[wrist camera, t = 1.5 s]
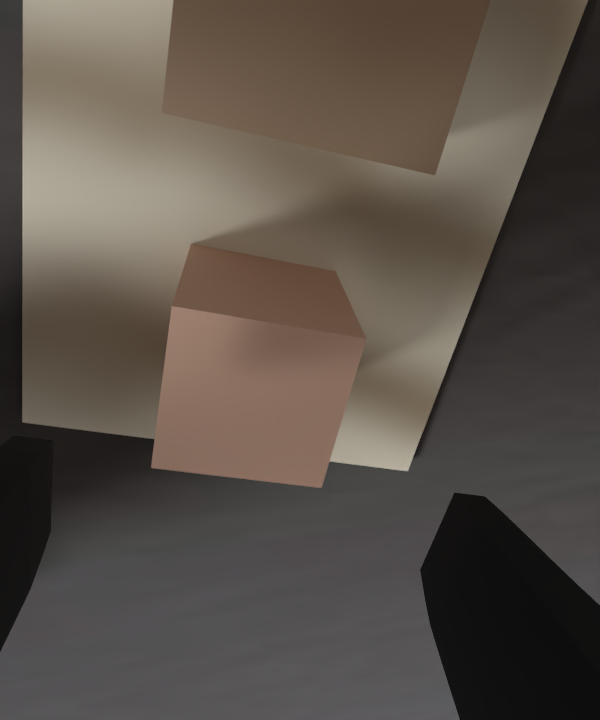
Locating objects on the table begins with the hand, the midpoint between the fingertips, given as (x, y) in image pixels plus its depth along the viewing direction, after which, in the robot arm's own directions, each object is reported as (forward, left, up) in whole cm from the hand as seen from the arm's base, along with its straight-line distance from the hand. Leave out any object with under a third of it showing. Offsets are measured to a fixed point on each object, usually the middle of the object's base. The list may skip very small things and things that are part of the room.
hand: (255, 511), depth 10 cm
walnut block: (+9, 0, -9) cm, 13 cm away
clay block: (0, 0, -9) cm, 9 cm away
